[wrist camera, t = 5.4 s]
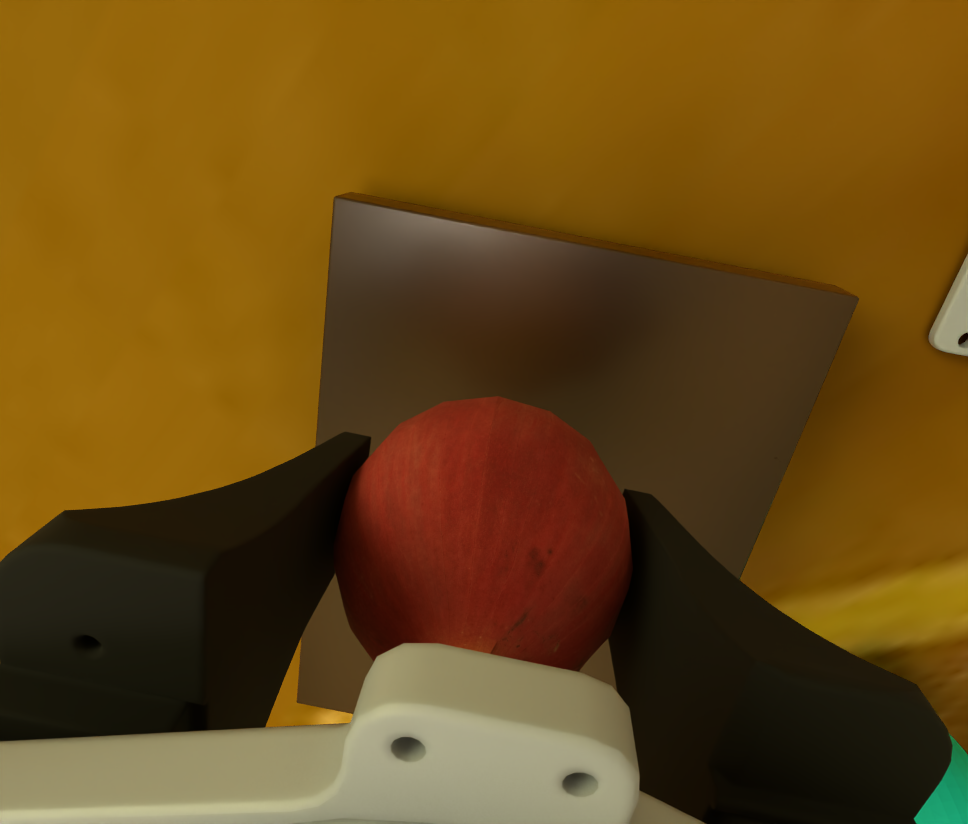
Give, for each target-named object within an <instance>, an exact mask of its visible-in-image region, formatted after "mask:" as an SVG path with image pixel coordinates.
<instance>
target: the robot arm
mask: <svg viewBox="0 0 968 824" xmlns="http://www.w3.org/2000/svg"><path fill="white" fill-rule="evenodd" d="M965 333H968V254H967V256H966V258H965V260H964V262H963V264H962V266H961V268H960V271H959V273H958V275H957V277H956V279H955V281H954V283H953V285H952V287H951V289H950V291H949V293H948V295H947V297H946V299H945V302H944V304H943V306H942V308H941V310H940V312H939V314H938V316H937V318H936V320H935V322H934V324H933V326H932V328H931V330H930V333H929V343H930V344H931V345H932V346H933V347H935V348H936V349H938V350H941V351H943V352H948V353H953V354H958V355H963V356H968V339H967V340H966V341H965V342H964V343H962V344H958V340H959V338H960V337H961V335H963V334H965ZM370 444H371V437H370V436H365V435H360V434H355V433H350V432H346V431H345V432H343V433H340V434H338V435H337V436H335V437H333V438H331V439H329V440H327V441H326V442H324V443H322V444H320V445H318V446H316V447H315V448H313V449H311V450H309V451H307V452H305V453H303V454H301V455H299V456H297V457H296V458H294V459H292V460H289V461H287V462H285V463H283V464H281V465H278V466H276V467H274V468H272V469H270V470H267V471H265V472H263V473H261V474H258V475H256V476H253V477H251V478H248V479H245V480H242V481H239V482H236V483H233V484H230V485H227V486H224V487H221V488H217V489H214V490H210V491H206V492H202V493H197V494H193V495H189V496H185V497H181V498H176V499H171V500H165V501H160V502H154V503H147V504H139V505H132V506H123V507H112V508H97V509H83V510H65V511H63V512H62V513H60V514H59V515H58V516H56V517H55V518H54V519H52V520H51V521H50V522H49V523H47V524H46V525H45V526H44V527H42V528H41V529H40V530H38V531H37V532H36V533H35V534H33V535H32V536H31V537H29V538H28V539H27V540H26V541H24V542H23V543H22V544H20V545H19V546H18V547H17V548H15V549H14V550H13V551H11V552H10V553H9V554H8V555H7V556H6V557H5V558H4V559H3V560H2V561H1V562H0V824H916V822H915V820H914V818H915V816H916V815H917V814H918V812H919V811H920V810H921V808H922V807H923V805H924V804H925V803H926V801H927V800H928V799H929V797H930V796H931V794H932V793H933V792H934V790H935V789H936V787H937V786H938V785H939V783H940V782H941V780H942V779H943V777H944V775H945V773H946V771H947V769H948V767H949V765H950V763H951V757H952V747H953V745H952V742H951V739H950V736H949V733H948V730H947V728H946V727H945V725H944V724H943V722H942V721H941V719H940V718H939V716H938V715H937V714H936V712H935V711H934V709H933V708H932V706H931V705H930V703H929V702H928V700H927V699H926V697H925V696H924V695H923V693H922V692H921V690H920V689H919V687H918V686H917V685H916V684H914V683H912V682H910V681H908V680H905V679H903V678H901V677H899V676H897V675H895V674H893V673H890V672H888V671H886V670H884V669H882V668H880V667H878V666H875V665H873V664H871V663H869V662H867V661H865V660H863V659H861V658H859V657H857V656H855V655H853V654H851V653H849V652H847V651H846V650H844V649H842V648H840V647H838V646H836V645H835V644H833V643H831V642H829V641H827V640H826V639H824V638H822V637H820V636H819V635H817V634H815V633H814V632H812V631H810V630H809V629H807V628H805V627H804V626H802V625H801V624H799V623H798V622H796V621H795V620H793V619H792V618H790V617H789V616H787V615H785V614H784V613H782V612H781V611H779V610H778V609H777V608H775V607H774V606H772V605H771V604H769V603H768V602H767V601H765V600H764V599H763V598H761V597H760V596H759V595H758V594H756V593H755V592H754V591H752V590H751V589H750V588H749V587H747V586H746V585H745V584H743V583H742V582H741V581H740V580H739V579H737V578H736V577H735V576H734V575H733V574H731V573H730V572H729V571H728V570H727V569H726V568H725V567H724V566H723V565H722V564H720V563H719V562H718V561H717V560H716V559H715V558H714V557H713V556H712V555H711V554H710V553H709V552H708V551H707V550H706V549H705V548H704V547H703V546H702V545H701V544H700V543H699V542H698V541H697V540H696V539H695V538H694V537H693V536H692V535H691V534H690V533H689V532H688V531H687V530H686V529H685V528H684V527H683V526H682V525H681V524H680V523H679V522H678V520H677V519H676V518H675V517H674V516H673V515H672V514H671V513H670V512H669V511H668V510H667V509H666V508H665V507H664V506H663V505H662V504H661V503H660V502H659V501H658V500H657V499H656V498H655V497H654V496H653V495H652V494H649V493H644V492H639V491H634V490H629V489H624V492H623V497H624V498H625V502H626V508H627V515H628V521H629V531H630V541H631V552H632V562H633V572H632V576H631V581H630V586H629V590H628V592H627V595H626V597H625V600H624V602H623V605H622V608H621V610H620V613H619V615H618V618H617V620H616V623H615V625H614V628H613V631H612V633H611V636H610V637H609V638H608V641H609V647H610V653H611V658H612V664H613V670H614V676H615V681H616V688H617V692H616V690H615V689H614V688H613V686H611V685H609V684H607V683H604V682H602V681H600V680H597V679H595V678H593V677H590V676H588V675H586V674H583V673H581V672H576V671H571V670H566V669H561V668H556V667H551V666H546V665H542V664H537V663H532V662H527V661H522V660H517V659H512V658H507V657H503V656H498V655H493V654H488V653H483V652H478V651H473V650H468V649H463V648H459V647H454V646H449V645H444V644H439V643H403V644H401V645H399V646H397V647H395V648H393V649H391V650H389V651H387V652H385V653H383V654H381V655H379V656H377V657H376V659H375V661H374V663H373V665H372V667H371V668H370V670H369V672H368V674H367V676H366V677H365V680H364V683H363V686H362V689H361V692H360V695H359V698H358V701H357V705H356V708H355V711H354V714H353V717H352V720H351V722H350V723H342V724H323V725H304V726H285V727H266V728H265V726H266V723H267V721H268V718H269V716H270V713H271V710H272V708H273V705H274V703H275V700H276V698H277V695H278V693H279V690H280V687H281V685H282V682H283V680H284V677H285V675H286V672H287V670H288V668H289V665H290V663H291V660H292V658H293V655H294V653H295V650H296V648H297V646H298V643H299V641H300V639H301V637H302V634H303V632H304V630H305V628H306V626H307V624H308V622H309V620H310V618H311V617H312V615H313V613H314V611H315V609H316V608H317V606H318V604H319V602H320V600H321V598H322V597H323V595H324V593H325V591H326V589H327V587H328V586H329V584H330V582H331V580H332V578H333V576H334V575H335V569H334V541H335V537H336V533H337V529H338V525H339V521H340V517H341V513H342V509H343V504H344V500H345V497H346V494H347V491H348V488H349V485H350V482H351V479H352V476H353V475H354V474H355V472H356V471H357V470H358V469H359V468H360V467H361V466H362V465H363V464H364V462H365V461H366V460H367V459H368V458H369V452H370Z"/></svg>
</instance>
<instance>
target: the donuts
mask: <svg viewBox="0 0 968 824" xmlns="http://www.w3.org/2000/svg"><path fill="white" fill-rule="evenodd" d="M949 736H950V739H951V742H952V745H953V747H952V757H951V763H950V765H949V767H948V769H947V771H946V773H945V775H944V777H943V779H942V780H941V782H940V783H939V785H938V786H937V787H936V789H935V790H934V792H933V793H932V794H931V796H930V797H929V799H928V800H927V801H926V803H925V804H924V805H923V807H922V808H921V810H920V811H919V812H918V814H917V815H916V816H915V818H914V820H915V822H916V824H968V755H967V753H966V752H965V751H964V750H963V748H962V747H961V746H960V745H959V744H958V743H957V741H956V740H955V739H954V738H953V737H952V736H951V735H950V734H949Z"/></svg>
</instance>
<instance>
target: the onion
mask: <svg viewBox="0 0 968 824" xmlns="http://www.w3.org/2000/svg"><path fill="white" fill-rule="evenodd" d="M334 569H335V573H336V577H337V581H338V586H339V590H340V594H341V598H342V602H343V606H344V610H345V614H346V617H347V620H348V623H349V626H350V629H351V630H352V632H353V633H354V635H355V636H356V638H357V639H358V641H359V642H360V643H361V645H362V646H363V648H364V649H365V650H366V652H367V653H368V655H369V656H370V657H371V659H372V660H373V662H374V661H375V659H376V657H377V656H379V655H381V654H383V653H385V652H387V651H389V650H391V649H393V648H395V647H397V646H399V645H401V644H403V643H439V644H444V645H449V646H454V647H459V648H463V649H468V650H473V651H478V652H483V653H488V654H493V655H498V656H503V657H507V658H512V659H517V660H522V661H527V662H532V663H537V664H542V665H546V666H551V667H556V668H561V669H566V670H571V671H576V672H579V671H580V670H581V668H582V667H583V666H584V665H585V663H586V662H587V661H588V660H589V658H590V657H591V656H592V655H593V654H594V653H595V652H596V651H597V650H598V649H599V648H600V647H601V646H602V644H603V643H604V642H605V641H606V640H607V639H608V638H609V637H610V636H611V633H612V631H613V628H614V625H615V623H616V620H617V618H618V615H619V613H620V610H621V608H622V605H623V602H624V600H625V597H626V595H627V592H628V590H629V586H630V581H631V576H632V572H633V562H632V552H631V541H630V531H629V521H628V515H627V508H626V502H625V498H624V497H623V495H622V493H621V492H620V490H619V488H618V487H617V485H616V483H615V482H614V480H613V479H612V477H611V475H610V474H609V472H608V470H607V469H606V467H605V465H604V464H603V462H602V461H601V459H600V457H599V456H598V454H597V452H596V450H595V449H594V447H593V445H592V443H591V441H589V440H588V439H587V438H585V437H584V436H583V435H581V434H580V433H579V432H577V431H576V430H575V429H573V428H572V427H571V426H569V425H568V424H567V423H565V422H564V421H563V420H561V419H560V418H559V417H557V416H556V415H555V414H553V413H552V412H551V411H547V410H544V409H541V408H537V407H534V406H530V405H527V404H523V403H520V402H517V401H513V400H510V399H506V398H503V397H499V396H495V397H485V398H475V399H466V400H456V401H446V402H442V403H440V404H438V405H436V406H434V407H432V408H430V409H428V410H426V411H424V412H422V413H420V414H418V415H416V416H414V417H412V418H410V419H408V420H406V421H404V422H402V423H400V424H399V425H398V426H397V427H396V428H395V429H394V430H393V431H392V432H391V433H390V435H389V436H388V437H387V438H386V439H385V440H384V441H383V442H382V443H381V444H380V446H379V447H378V448H377V449H376V450H375V451H374V452H373V453H372V455H371V456H370V457H369V458H368V459H367V460H366V461H365V462H364V464H363V465H362V466H361V467H360V468H359V469H358V470H357V471H356V472H355V474H354V475H353V476H352V479H351V482H350V485H349V488H348V491H347V494H346V497H345V500H344V504H343V509H342V513H341V517H340V521H339V525H338V529H337V533H336V537H335V541H334Z"/></svg>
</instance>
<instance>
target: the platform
mask: <svg viewBox="0 0 968 824" xmlns="http://www.w3.org/2000/svg"><path fill="white" fill-rule="evenodd" d="M858 300H859V298H858V297H857V296H855V295H853V294H851V293H849V292H847V291H845V290H843V289H841V288H839V287H837V286H835V285H830V284H825V283H820V282H814V281H809V280H804V279H799V278H794V277H788V276H783V275H778V274H773V273H768V272H763V271H757V270H752V269H747V268H742V267H737V266H731V265H726V264H721V263H716V262H711V261H706V260H700V259H695V258H690V257H685V256H680V255H674V254H669V253H664V252H659V251H654V250H649V249H643V248H638V247H633V246H628V245H623V244H617V243H612V242H607V241H602V240H597V239H592V238H586V237H581V236H576V235H571V234H566V233H561V232H555V231H550V230H545V229H540V228H535V227H529V226H524V225H519V224H514V223H509V222H504V221H498V220H493V219H488V218H483V217H478V216H472V215H467V214H462V213H457V212H452V211H447V210H441V209H436V208H431V207H426V206H421V205H415V204H410V203H405V202H400V201H395V200H390V199H384V198H379V197H374V196H369V195H364V194H358V193H353V192H349V193H345V194H342V195H338V196H335V197H334V202H333V216H332V230H331V243H330V257H329V270H328V284H327V298H326V311H325V325H324V339H323V352H322V366H321V379H320V393H319V407H318V420H317V434H316V446H318V445H320V444H322V443H324V442H326V441H327V440H329V439H331V438H333V437H335V436H337V435H338V434H340V433H343V432H345V431H346V432H350V433H355V434H360V435H365V436H370V437H371V444H370V452H369V457H370V456H371V455H372V453H373V452H374V451H375V450H376V449H377V448H378V447H379V446H380V444H381V443H382V442H383V441H384V440H385V439H386V438H387V437H388V436H389V435H390V433H391V432H392V431H393V430H394V429H395V428H396V427H397V426H398V425H399V424H400V423H402V422H404V421H406V420H408V419H410V418H412V417H414V416H416V415H418V414H420V413H422V412H424V411H426V410H428V409H430V408H432V407H434V406H436V405H438V404H440V403H442V402H446V401H456V400H466V399H475V398H485V397H495V396H499V397H503V398H506V399H510V400H513V401H517V402H520V403H523V404H527V405H530V406H534V407H537V408H541V409H544V410H547V411H551V412H552V413H553V414H555V415H556V416H557V417H559V418H560V419H561V420H563V421H564V422H565V423H567V424H568V425H569V426H571V427H572V428H573V429H575V430H576V431H577V432H579V433H580V434H581V435H583V436H584V437H585V438H587V439H588V440H589V441H591V443H592V445H593V447H594V449H595V450H596V452H597V454H598V456H599V457H600V459H601V461H602V462H603V464H604V465H605V467H606V469H607V470H608V472H609V474H610V475H611V477H612V479H613V480H614V482H615V483H616V485H617V487H618V488H619V490H620V492H621V493H622V495H623V492H624V489H629V490H634V491H639V492H644V493H649V494H652V495H653V496H654V497H655V498H656V499H657V500H658V501H659V502H660V503H661V504H662V505H663V506H664V507H665V508H666V509H667V510H668V511H669V512H670V513H671V514H672V515H673V516H674V517H675V518H676V519H677V520H678V522H679V523H680V524H681V525H682V526H683V527H684V528H685V529H686V530H687V531H688V532H689V533H690V534H691V535H692V536H693V537H694V538H695V539H696V540H697V541H698V542H699V543H700V544H701V545H702V546H703V547H704V548H705V549H706V550H707V551H708V552H709V553H710V554H711V555H712V556H713V557H714V558H715V559H716V560H717V561H718V562H719V563H720V564H722V565H723V566H724V567H725V568H726V569H727V570H728V571H729V572H730V573H731V574H733V575H734V576H735V577H736V578H737V579H740V577H741V575H742V572H743V570H744V568H745V565H746V563H747V561H748V558H749V556H750V553H751V551H752V549H753V546H754V544H755V542H756V539H757V537H758V535H759V532H760V530H761V528H762V525H763V523H764V521H765V518H766V516H767V514H768V511H769V509H770V507H771V504H772V502H773V500H774V497H775V495H776V493H777V490H778V488H779V485H780V483H781V481H782V478H783V476H784V474H785V471H786V469H787V467H788V464H789V462H790V460H791V457H792V455H793V453H794V450H795V448H796V446H797V443H798V441H799V439H800V436H801V434H802V432H803V429H804V427H805V425H806V422H807V420H808V418H809V415H810V413H811V410H812V408H813V406H814V403H815V401H816V399H817V396H818V394H819V392H820V389H821V387H822V385H823V382H824V380H825V378H826V375H827V373H828V371H829V368H830V366H831V364H832V361H833V359H834V357H835V354H836V352H837V350H838V347H839V345H840V342H841V340H842V338H843V335H844V333H845V331H846V328H847V326H848V324H849V321H850V319H851V317H852V314H853V312H854V310H855V307H856V305H857V303H858ZM373 663H374V662H373V660H372V659H371V657H370V656H369V655H368V653H367V652H366V650H365V649H364V648H363V646H362V645H361V643H360V642H359V641H358V639H357V638H356V636H355V635H354V633H353V632H352V630H351V629H350V626H349V623H348V620H347V617H346V614H345V610H344V606H343V602H342V598H341V594H340V590H339V586H338V581H337V577H336V573H335V575H334V576H333V578H332V580H331V582H330V584H329V586H328V587H327V589H326V591H325V593H324V595H323V597H322V598H321V600H320V602H319V604H318V606H317V608H316V609H315V611H314V613H313V615H312V617H311V618H310V620H309V622H308V624H307V626H306V628H305V630H304V632H303V634H302V638H301V652H300V665H299V679H298V693H297V703H301V704H306V705H311V706H316V707H321V708H326V709H331V710H336V711H341V712H347V713H352V714H354V711H355V708H356V705H357V701H358V698H359V695H360V692H361V689H362V686H363V683H364V680H365V677H366V676H367V674H368V672H369V670H370V668H371V667H372V665H373ZM579 672H581V673H583V674H586V675H588V676H590V677H593V678H595V679H597V680H600V681H602V682H604V683H607V684H609V685H611V686H613V688H614V689H615V690H616V692H617V688H616V681H615V676H614V670H613V664H612V658H611V653H610V647H609V641H608V639H607V640H606V641H605V642H604V643H603V644H602V646H601V647H600V648H599V649H598V650H597V651H596V652H595V653H594V654H593V655H592V656H591V657H590V658H589V660H588V661H587V662H586V663H585V665H584V666H583V667H582V668H581V670H580V671H579Z"/></svg>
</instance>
